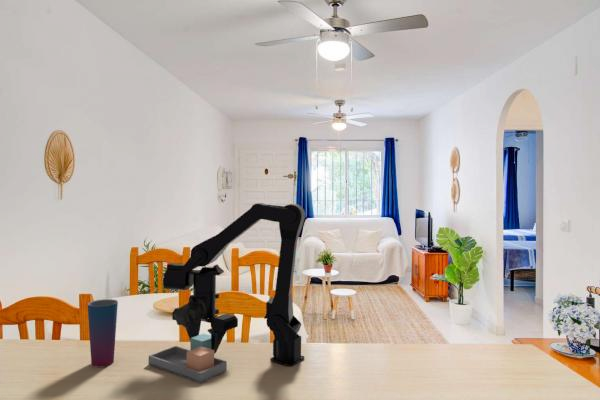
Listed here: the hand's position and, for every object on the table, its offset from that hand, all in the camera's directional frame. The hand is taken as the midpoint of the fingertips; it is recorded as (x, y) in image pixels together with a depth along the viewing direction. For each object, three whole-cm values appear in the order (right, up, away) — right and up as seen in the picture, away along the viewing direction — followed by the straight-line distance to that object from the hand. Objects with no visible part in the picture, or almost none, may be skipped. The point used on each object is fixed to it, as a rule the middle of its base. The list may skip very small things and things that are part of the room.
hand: (204, 350), depth 115 cm
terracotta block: (+2, -1, -11) cm, 11 cm away
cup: (-24, -1, -7) cm, 24 cm away
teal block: (0, -1, 0) cm, 1 cm away
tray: (-2, -1, -9) cm, 9 cm away
